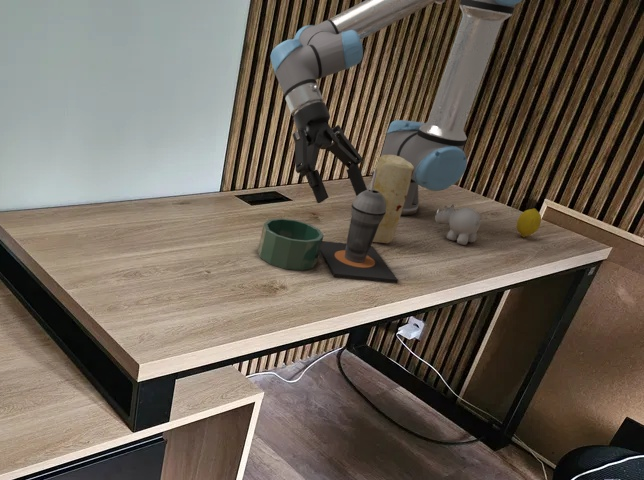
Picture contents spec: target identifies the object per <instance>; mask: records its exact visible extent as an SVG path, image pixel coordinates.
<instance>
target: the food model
mask: <svg viewBox="0 0 644 480" xmlns="http://www.w3.org/2000/svg"><path fill="white" fill-rule="evenodd" d="M375 168H377V172H376V177H375V182H374V188H373V190H376V191H378V192H380V193H381V194H382V195H383V197H384V198H385V201H386V213H385V215H384V217H383V219H382V221H381V222H380V224H379V227H378V229H377V232H376V234H375V237H374V239H373V242H372V243H382V244H389V243H391V242H392V241H393V239H394V235H395V232H396V230H397V227H398V225H399V222H400V219H401V217H402V215H401V212H402V209H403V206H404V203H405V200H406V196H407V193H408V189H409V185H410V181H411V177H412V174H413V171H414V167H413V165H412V164H411V163H410V162H408V161H406V160H405V159H403V158H401V157H399V156H396V155H382V156H381V155H380V157H379V158H378V161H377V164H376V167H375ZM372 180H373V177H372V178H371V181H370V182H371V185H372ZM371 185H370V188H369V190H371Z"/></svg>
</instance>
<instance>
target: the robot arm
mask: <svg viewBox="0 0 644 480" xmlns="http://www.w3.org/2000/svg"><path fill="white" fill-rule="evenodd" d="M448 1H449V0H363V1H361V2H360V3H357V4H356V5H354V6H352V7H350V8H348V9H346V10H343V11H342V12H340V13H338V14H336V15H334V16H333V17H331V18H328V19H326V20H323V21H322V22H320V23H318V24H316V25H315V24H310V25H304V26H302V27H301V28H299V29H298V31H296V33H295V35H294V38H293V39H292V38H289V39H286V40H284V41H281V42H280V43H279V44H277V45H276V46H275V47H274V48H273V49H272V51H271V52H270V56H269V57H270V62H271V65H272V68H273V72H274V75H275V76H276V79H277V82H278V83H279V86H280V89H281V91H282V93H283V95H284V99H285V102H286V104H287V107H288V110H289V113H290V115H291V116H292V117H293V123H294V124H295V127H296V129H297V130H296V131H294V132H293V133H292V138H293V141H294V156H295V157H294V159H295V160H294V161H295V163H294V164H295V172H296V174H299V175H300V177H302V178H304V177H305V178H306V180H307V183H308V185H309V187H310V188H311V190H312V193H313V195H314V199H315V201H316V203H317V204H320V203H322V202H324V201H326V200H327V199H329V194H328V192H327V189H326V187H325V184H324V182H323V179H322V176H321V174H320V171H319V170H318V169H315V167H316V161H317V157H318V151H319V150H326V151H327V152H330V153H331V154H332V155H333V156H335V158H336V159H338V160H339V161H340V162H341V163H342V164H343V165H344V166H345V167H346V168H347V169H346V174H347V176H348V178H349V181H350V183H351V186H352V188H353V191H354V193H355V196H356V197H357V196H358V195H359V194H360V193H361V192H363V191H365V190H369V188H370V185H371V181H369V184H367V185H366V182H365V181H364V177H363V174H362V172H361V169H360V164H361V163H362V162H363V157H362V156H361V154H360V153H359V151H358V150H357V149H356V148H355V147H354V145H353V144H352V142H351V141H350V140H349V139H348V137H347V136H346V135H345V134H344V131H343V129H342V127H341V125H339V124H337V125H335V126H334V127H331V125H330V124H329V122H330V118H331V115H330V112H329V109H328V107H327V105H326V103H325V102H324V98H323V96H322V93H321V90H320V88H319V86H318V82H317V80H320V79H322V78H326V77H328V76H331V75H333V74H336V73H339V72H342V71H345V70H349V69H350V68H352V67H355V66H357V65H359V64H360V63H361V62H362V60H363V56H364V48H363V42H362V40H363V39H364V38H367V37H369V36H371V35H373V34H375V33H377V32H379V31H380V30H382V29H385V28H387V27H389V26H391V25H392V24H395V23H396V22H398V21H400V20H402V19H404V18H406V17H408V16H410V15H412V14H415V13H416V12H418V11H420V10H422V9H424V8H426V7H428V6H430V5H432V4H434V3H435V4H438V5H442V4H443V3H446V2H448ZM522 1H523V0H460V2H459V4H458V6H459V9H460V11H461V13H462V17H461V21H460V23H459V26H458V29H457V33H456V34H455V35H456V36H455V38H454V42H453V44H452V47H451V51H450V54H449V55H448V56H449V57H448V59H447V62H446V65H445V68H444V71H443V74H442V77H441V80H440V84H439V86H438V89H437V92H436V94H435V98H434V101H433V104H432V106H431V110H430V113H429V116H428V119H427V121H425V122H421V121H413V120H404V119H395V120H393V121H392V122H391V123H389V127H388V129H387V132H386V134H385V135H386V136H385V139H384V142H383V147H382V150H381V153H380V157H381V156H382V155H396V156H399V157H401V158H403V159H405V160H406V161H408V162H410V163H411V164H412V165H413V167H414V171H413V174H412V177H411V181H410V185H409V189H408V193H407V196H406V200H405V203H404V206H403V209H402V212H401V216H411V215H414V214H416V213H417V211H418V208H419V187H422V188H424V189H426V190H428V191H432V192H440V191H444V190H447V189H449V188H450V187H451V186H454V185H456V183H457V182H458V181H460V179H461V178H462V177H463V176H464V174H465V171H466V169H467V165H468V159H467V157H466V153H465V151H463V150H464V147H465V145H466V141H467V139H468V137H467V135H466V132H465V131H464V129H465V126H466V123H467V120H468V118H469V114H470V112H471V109H472V106H473V104H474V101H475V98H476V95H477V92H478V90H479V87H480V85H481V81H482V78H483V77H484V73H485V70H486V67H487V64H488V62H489V59H490V56H491V54H492V51H493V48H494V45H495V43H496V40H497V37H498V35H499V32H500V29H501V26H502V24H503V22H505V20H507V19H510V18H511V17H512V16H513V14H514V12H515V8H516V5H517V4H519V3H521V2H522ZM373 174H374V170H373V171H372V172H371V175H372V176H373Z"/></svg>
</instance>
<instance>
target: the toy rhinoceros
mask: <svg viewBox="0 0 644 480" xmlns="http://www.w3.org/2000/svg"><path fill="white" fill-rule="evenodd" d="M436 210H437V211H436V214H435V215H434V221H435V222H436V223H437V224H445V225H449V231H448V232H447V234H446V239H447V240H448V241H453V242H455V241H456V244H458V245H463V246H466V245H467V244H468V243H475V242H476V241H477V236H478V235H477V232H478V230H479V228H480V226H481V222H482V221H481V216H480V214H479V212H477V211H476V209H473V208H472V207H461V208H459V209H457V210H456V209H455V204H452V205H451V206H450V207H448V205H444V209H442V210H441V209H440V207H438V209H436Z"/></svg>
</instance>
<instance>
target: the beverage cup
mask: <svg viewBox="0 0 644 480" xmlns="http://www.w3.org/2000/svg"><path fill="white" fill-rule="evenodd" d="M373 171H374V174H373V175H372V178H373V180H372V179H371V181H372V185H371V190H365V191H363V192H361V193H360V194H359V195H358V196H356V197H355V198H354V200H353V203H352V204H351V213H350V216H351V217H350V223H349V228H348V233H347V234H348V235H347V239H346V243H347V244H346V249H345V250H346V251H345V256H344V257H345V258H346V259H347V260H349V261H352V262H356V263H362V262H364V261H365V259H366V256H367V254H368V252H369V249H370V247H371V246H372V244H373V243H374V242H373V239H374V237H375V234H376V232H377V229H378V227H379V224H380V222H381V221H382V219H383V217H384V215H385V213H386V201H385V198H384V197H383V195H382V194H381V193H380V192H378V191H376V190H373V188H374V182H375V177H376V172H377V168H376V167H374V170H373Z"/></svg>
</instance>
